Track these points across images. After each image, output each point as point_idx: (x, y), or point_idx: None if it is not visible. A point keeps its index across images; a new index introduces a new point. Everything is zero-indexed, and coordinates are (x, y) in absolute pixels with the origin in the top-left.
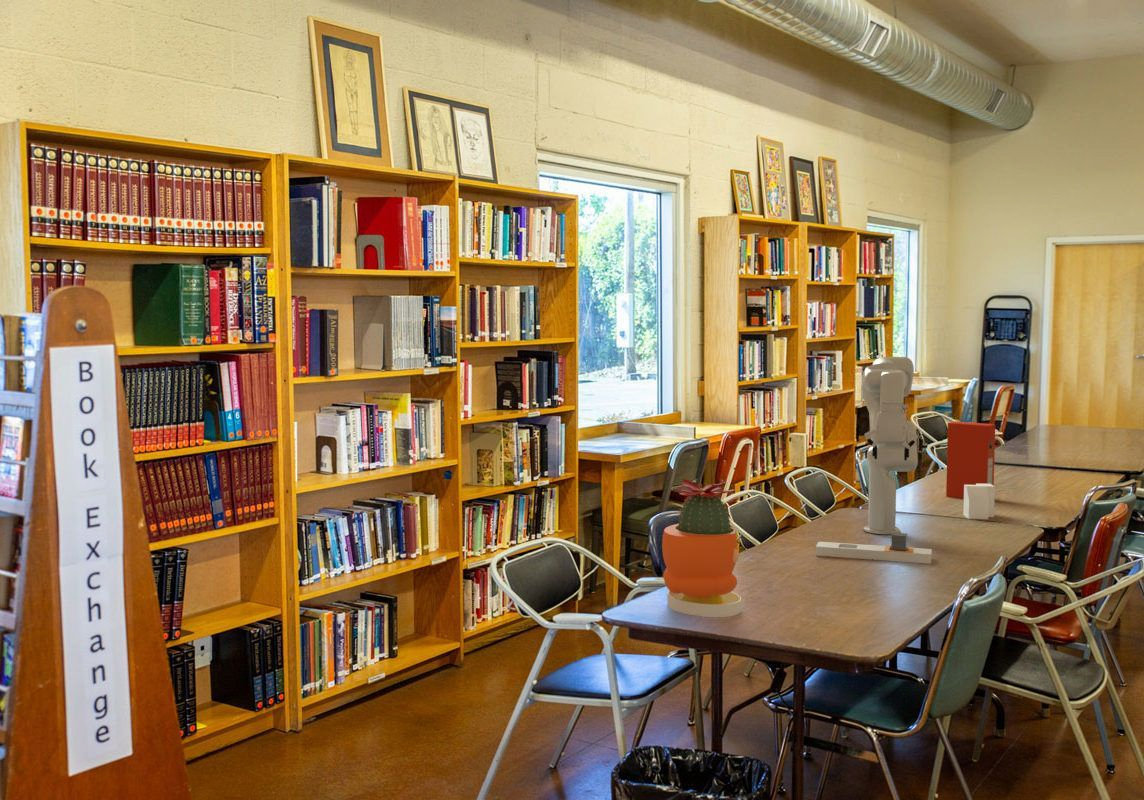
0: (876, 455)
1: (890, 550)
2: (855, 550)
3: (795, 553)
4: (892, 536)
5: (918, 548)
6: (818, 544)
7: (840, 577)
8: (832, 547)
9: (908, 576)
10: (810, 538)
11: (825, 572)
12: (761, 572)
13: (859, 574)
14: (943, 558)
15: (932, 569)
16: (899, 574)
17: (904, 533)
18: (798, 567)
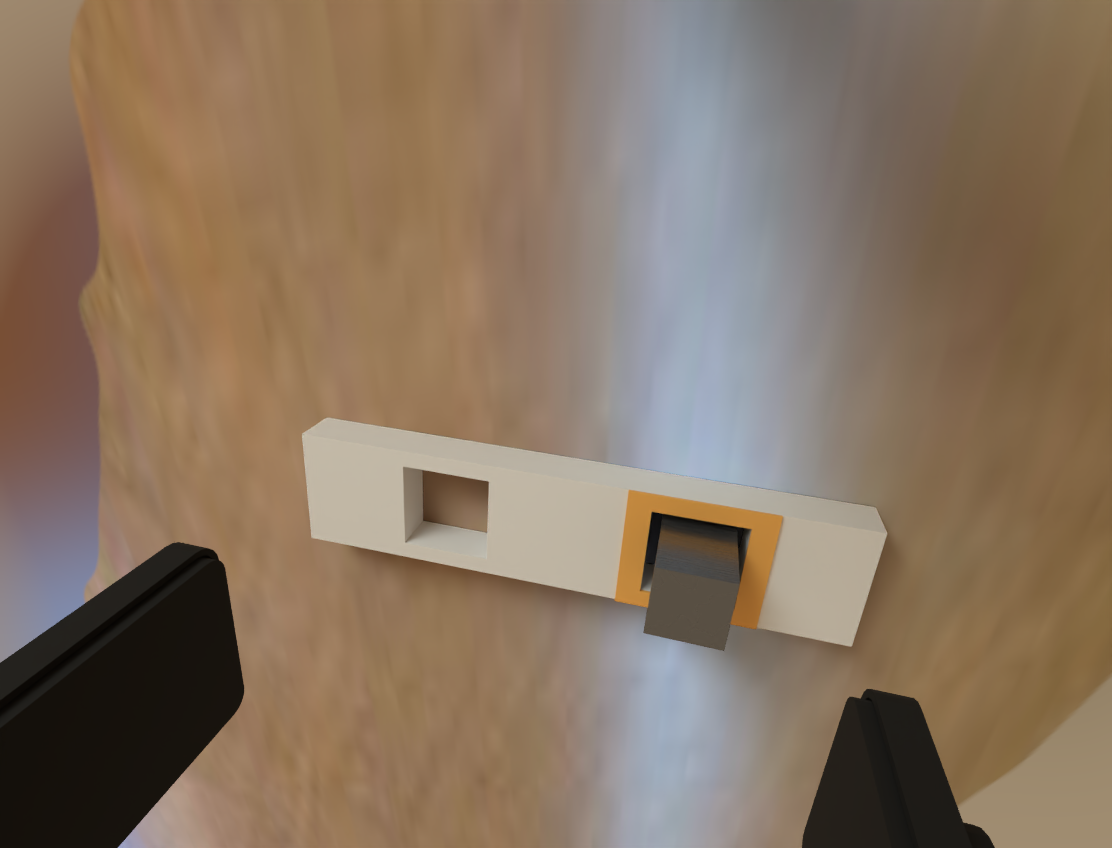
0: (192, 761)
1: (646, 598)
2: (485, 568)
3: (254, 488)
4: (648, 630)
5: (808, 527)
6: (314, 497)
7: (464, 803)
8: (381, 548)
9: (700, 798)
10: (231, 119)
11: (411, 749)
12: (231, 750)
13: (523, 772)
14: (947, 502)
15: (824, 706)
16: (668, 774)
17: (725, 586)
18: (316, 693)
